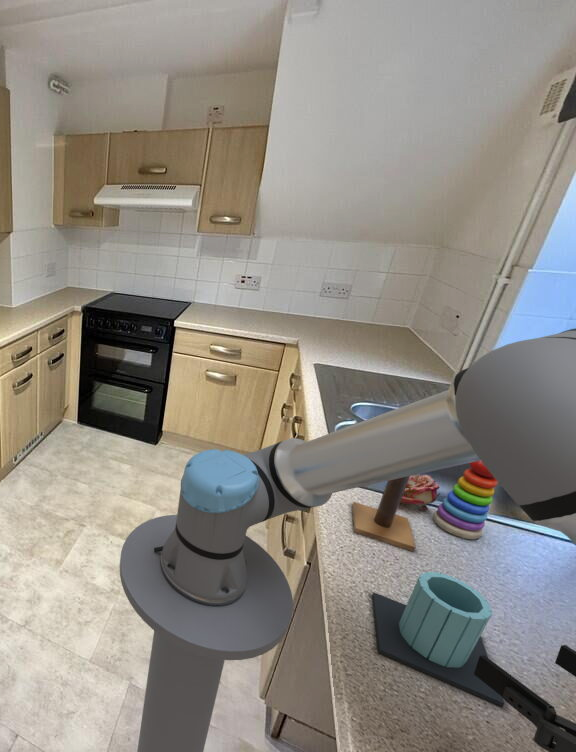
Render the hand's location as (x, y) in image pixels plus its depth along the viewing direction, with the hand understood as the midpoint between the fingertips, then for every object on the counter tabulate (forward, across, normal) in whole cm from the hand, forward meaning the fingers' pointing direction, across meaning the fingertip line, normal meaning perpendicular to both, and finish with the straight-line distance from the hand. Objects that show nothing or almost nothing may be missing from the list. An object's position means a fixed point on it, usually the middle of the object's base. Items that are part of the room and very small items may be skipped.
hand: (520, 658), depth 52 cm
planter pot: (+10, +2, -8) cm, 13 cm away
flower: (+39, +30, -2) cm, 50 cm away
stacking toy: (+31, +34, -3) cm, 46 cm away
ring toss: (+34, +17, -4) cm, 38 cm away
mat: (+11, +2, -9) cm, 14 cm away
